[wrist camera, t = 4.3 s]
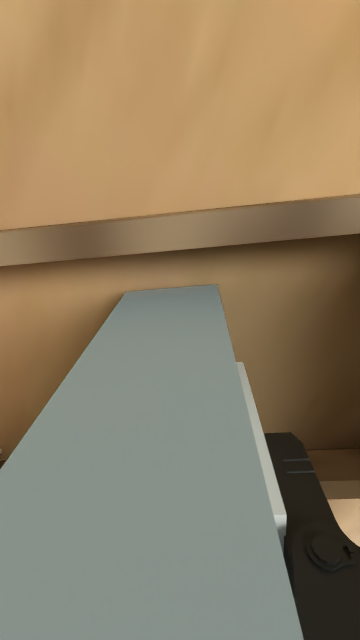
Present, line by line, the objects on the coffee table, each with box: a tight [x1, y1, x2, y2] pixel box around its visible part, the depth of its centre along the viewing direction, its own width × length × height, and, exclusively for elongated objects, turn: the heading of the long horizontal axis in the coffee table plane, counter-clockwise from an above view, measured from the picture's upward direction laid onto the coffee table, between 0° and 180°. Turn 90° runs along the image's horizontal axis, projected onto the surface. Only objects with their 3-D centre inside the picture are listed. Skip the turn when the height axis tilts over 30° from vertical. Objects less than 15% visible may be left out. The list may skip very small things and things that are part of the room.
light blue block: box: [0, 284, 304, 640], centre depth 9 cm, size 4×8×13 cm, turn 6°
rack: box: [0, 194, 360, 499], centre depth 11 cm, size 28×14×10 cm, turn 96°
